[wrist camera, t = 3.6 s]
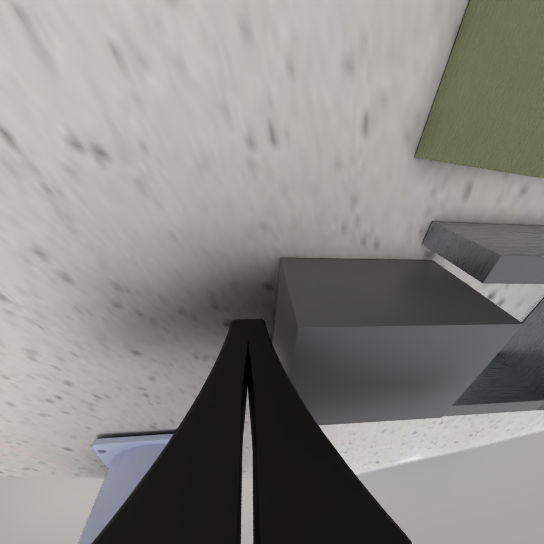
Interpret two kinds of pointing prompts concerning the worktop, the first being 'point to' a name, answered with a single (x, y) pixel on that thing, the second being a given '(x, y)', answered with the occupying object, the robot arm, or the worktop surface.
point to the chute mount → (500, 157)
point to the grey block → (382, 337)
